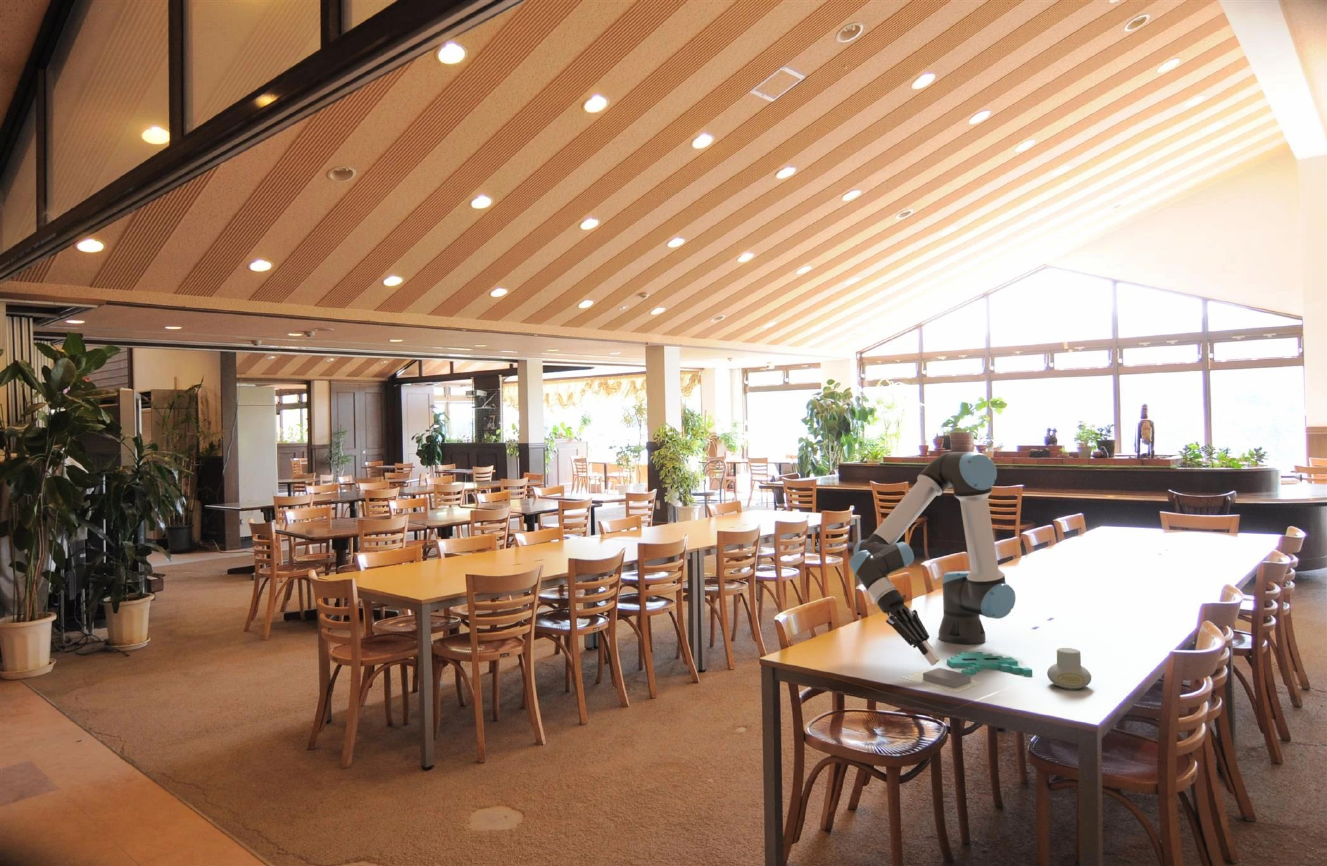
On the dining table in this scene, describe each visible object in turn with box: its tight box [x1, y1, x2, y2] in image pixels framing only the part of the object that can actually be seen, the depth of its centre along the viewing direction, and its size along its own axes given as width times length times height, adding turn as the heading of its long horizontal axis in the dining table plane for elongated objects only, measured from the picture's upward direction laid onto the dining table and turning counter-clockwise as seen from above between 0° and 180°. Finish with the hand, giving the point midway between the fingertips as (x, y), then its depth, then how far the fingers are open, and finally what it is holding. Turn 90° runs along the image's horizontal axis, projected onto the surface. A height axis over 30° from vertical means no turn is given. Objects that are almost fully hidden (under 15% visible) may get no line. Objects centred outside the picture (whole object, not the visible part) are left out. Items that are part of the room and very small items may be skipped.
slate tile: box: [923, 667, 972, 688], centre depth 232 cm, size 2×8×10 cm
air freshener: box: [1046, 647, 1092, 691], centre depth 227 cm, size 11×8×10 cm
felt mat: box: [900, 668, 983, 693], centre depth 234 cm, size 18×13×1 cm
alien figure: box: [946, 651, 1033, 677], centre depth 247 cm, size 20×2×20 cm
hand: (935, 662), depth 235 cm, fingers closed
